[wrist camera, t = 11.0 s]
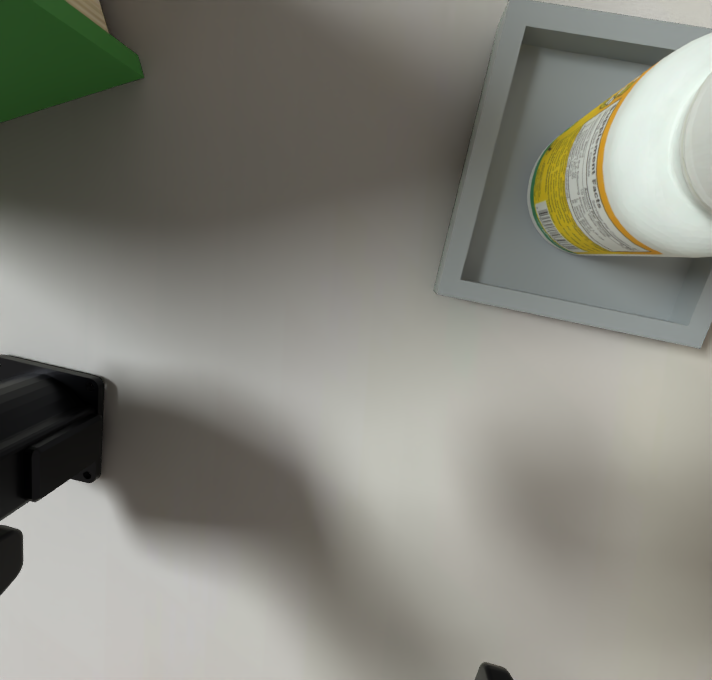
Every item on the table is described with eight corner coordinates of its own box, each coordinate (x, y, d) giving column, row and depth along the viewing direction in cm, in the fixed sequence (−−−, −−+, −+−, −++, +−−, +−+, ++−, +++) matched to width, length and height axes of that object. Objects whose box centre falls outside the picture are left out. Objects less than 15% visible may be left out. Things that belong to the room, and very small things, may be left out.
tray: (433, 290, 18) (437, 294, 17) (498, 25, 16) (510, -4, 14) (670, 339, 18) (700, 348, 16) (779, 70, 15) (828, 46, 13)
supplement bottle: (512, 248, 17) (647, 243, 8) (539, 113, 16) (739, -84, 6) (640, 262, 17) (947, 275, 7) (678, 125, 15) (1106, -67, 6)
